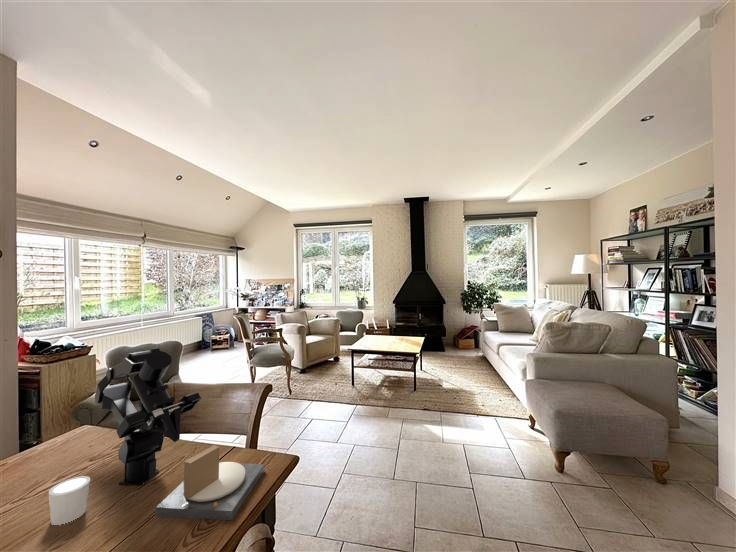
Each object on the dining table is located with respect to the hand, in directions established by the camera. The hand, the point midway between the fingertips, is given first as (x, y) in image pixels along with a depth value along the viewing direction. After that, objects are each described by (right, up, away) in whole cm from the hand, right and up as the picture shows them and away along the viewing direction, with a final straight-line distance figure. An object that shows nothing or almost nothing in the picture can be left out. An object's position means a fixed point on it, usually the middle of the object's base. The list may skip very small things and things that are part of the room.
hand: (177, 440), depth 76 cm
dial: (+9, -11, 0) cm, 15 cm away
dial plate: (+9, -14, +1) cm, 17 cm away
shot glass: (-20, -14, -7) cm, 25 cm away
